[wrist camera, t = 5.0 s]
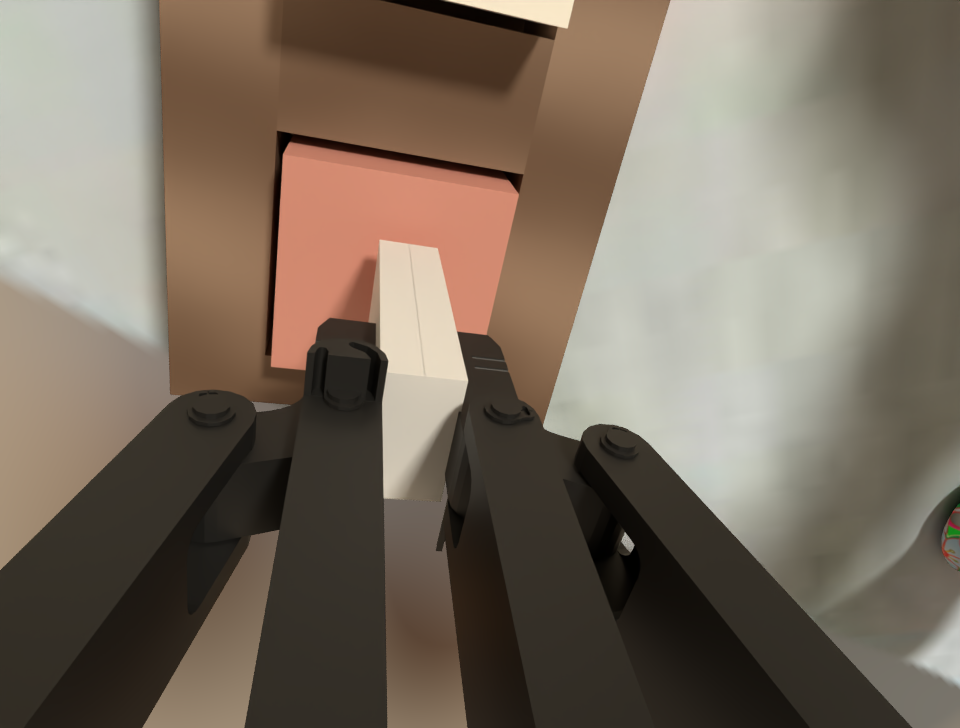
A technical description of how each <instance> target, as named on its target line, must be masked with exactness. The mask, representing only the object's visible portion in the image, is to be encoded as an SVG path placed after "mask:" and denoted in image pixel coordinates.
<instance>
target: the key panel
mask: <svg viewBox="0 0 960 728" xmlns="http://www.w3.org/2000/svg"><path fill="white" fill-rule="evenodd" d="M669 3H670V0H574V3H573V8H572V12H571V16H570V20H569V24H568V29H567V28H561V27H556V26H551V25H546V24H541V23H535V22H530V21H526V20H522V19H517V18H513V17H509V16H505V15H500V14H496V13H492V12H487V11H483V10H479V9H475V8H470V7H466V6H462V5H458V4H453V3H449V2H445V1H441V0H159V12H160V48H161V84H162V119H163V155H164V190H165V226H166V262H167V297H168V333H169V365H170V366H169V369H170V394H172V395H185V394H188V393H191V392H195V391H201V390H222V391H230V392H233V393H236V394H239V395H242V396H244V397H245V398H247V399H248V400H249V401H253V402H265V403H276V404H288V405H292V404H294V403H296V402H298V401H299V400H300V399H301V398H302V397H303V394H304V382H305V371H306V370H298V369H288V368H278V367H271V356H272V338H273V321H274V303H275V286H276V269H277V251H278V234H279V216H280V199H281V181H282V164H283V153H284V152H285V150H286V148H287V146H288V144H289V142H290V140H291V138H292V136H293V135H294V134H299V135H305V136H310V137H316V138H322V139H327V140H333V141H338V142H344V143H350V144H355V145H361V146H366V147H372V148H378V149H383V150H389V151H395V152H400V153H406V154H411V155H417V156H423V157H428V158H434V159H440V160H445V161H451V162H456V163H462V164H468V165H473V166H479V167H485V168H490V169H496V170H501V171H502V172H503V173H504V175H505V176H506V177H507V179H508V180H509V181H510V183H511V184H512V186H513V187H514V188H515V190H516V191H517V192H518V194H519V197H518V201H517V205H516V210H515V214H514V218H513V223H512V227H511V231H510V236H509V240H508V244H507V248H506V253H505V257H504V261H503V266H502V270H501V274H500V279H499V283H498V287H497V292H496V296H495V300H494V305H493V309H492V313H491V317H490V322H489V326H488V330H487V335H488V336H489V337H491V338H492V339H493V340H494V341H495V342H496V343H497V344H498V345H499V346H500V347H501V350H502V353H503V356H504V359H505V362H506V364H507V367H508V372H509V373H510V376H511V379H512V382H513V385H514V388H515V391H516V394H517V397H518V399H519V400H521V401H524V402H525V403H527V404H528V405H529V406H531V407H532V408H533V409H534V410H535V411H536V413H537V414H538V415H539V417H540V420H541V422H542V425H543V423H544V419H545V416H546V413H547V409H548V406H549V403H550V399H551V396H552V393H553V389H554V386H555V383H556V379H557V376H558V373H559V369H560V366H561V363H562V359H563V356H564V353H565V349H566V346H567V343H568V339H569V336H570V333H571V329H572V326H573V323H574V319H575V316H576V313H577V309H578V306H579V303H580V299H581V296H582V293H583V289H584V286H585V283H586V279H587V276H588V273H589V269H590V266H591V263H592V259H593V256H594V253H595V249H596V246H597V243H598V239H599V236H600V233H601V229H602V226H603V223H604V219H605V216H606V213H607V209H608V206H609V203H610V200H611V196H612V193H613V190H614V186H615V183H616V180H617V176H618V173H619V170H620V166H621V163H622V160H623V156H624V153H625V150H626V146H627V143H628V140H629V136H630V133H631V130H632V126H633V123H634V120H635V116H636V113H637V110H638V106H639V103H640V100H641V96H642V93H643V90H644V86H645V83H646V80H647V76H648V73H649V70H650V66H651V63H652V60H653V56H654V53H655V50H656V46H657V43H658V40H659V36H660V33H661V30H662V26H663V23H664V20H665V16H666V13H667V10H668V6H669Z"/></svg>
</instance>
